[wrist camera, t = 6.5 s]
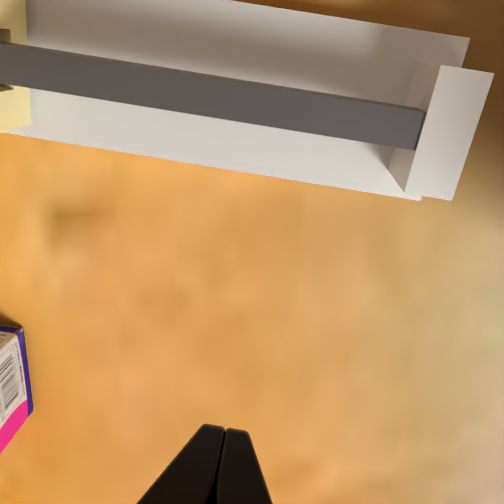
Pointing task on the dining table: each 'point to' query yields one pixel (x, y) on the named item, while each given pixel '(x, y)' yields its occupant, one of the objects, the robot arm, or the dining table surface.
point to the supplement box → (13, 383)
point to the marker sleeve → (9, 96)
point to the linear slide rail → (252, 91)
